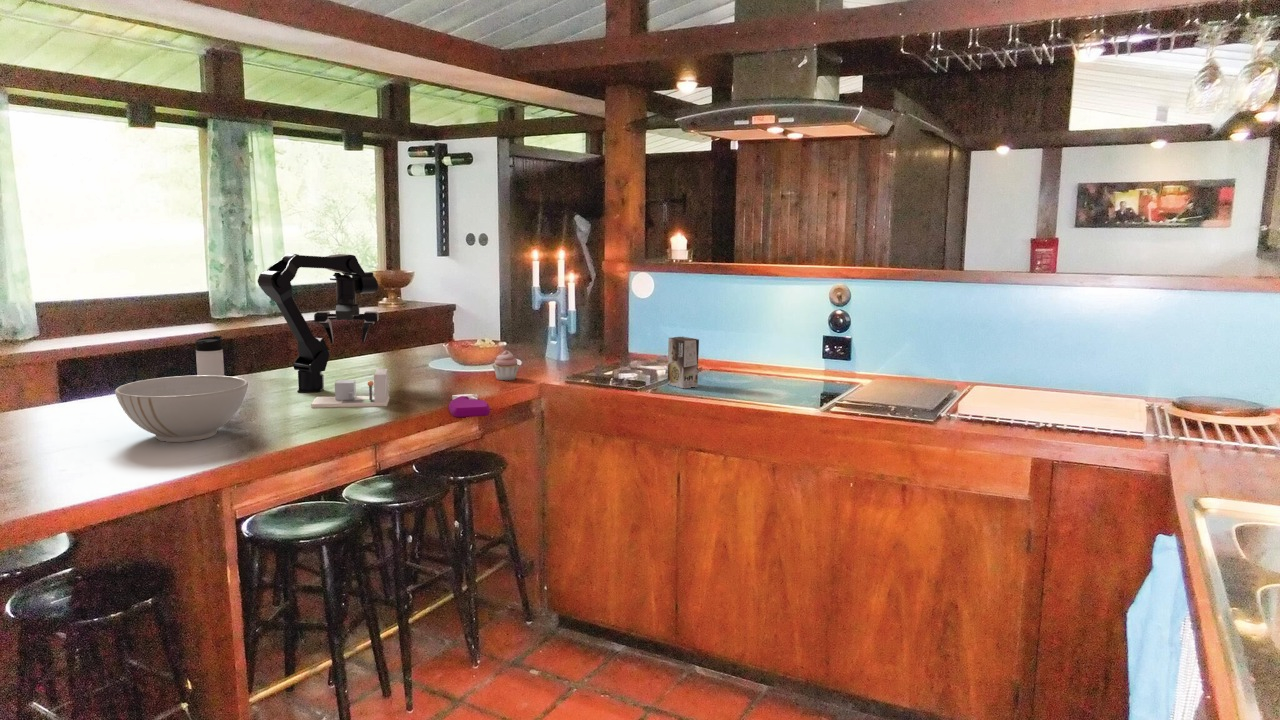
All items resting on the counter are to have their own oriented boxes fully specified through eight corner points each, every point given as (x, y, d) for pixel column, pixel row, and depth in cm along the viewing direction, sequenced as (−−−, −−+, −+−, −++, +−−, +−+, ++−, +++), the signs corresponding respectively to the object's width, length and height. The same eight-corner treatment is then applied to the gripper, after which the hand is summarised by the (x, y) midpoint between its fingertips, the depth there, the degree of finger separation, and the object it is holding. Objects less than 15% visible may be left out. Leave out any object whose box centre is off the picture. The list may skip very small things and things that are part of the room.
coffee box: (698, 387, 264) (700, 339, 261) (682, 389, 260) (684, 340, 258) (681, 382, 271) (683, 336, 269) (666, 384, 267) (667, 336, 265)
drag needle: (367, 400, 223) (367, 381, 223) (368, 398, 226) (367, 380, 225) (373, 400, 224) (373, 381, 223) (374, 398, 226) (373, 380, 225)
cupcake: (487, 380, 266) (487, 351, 264) (498, 376, 275) (498, 347, 273) (514, 382, 264) (514, 352, 262) (524, 377, 273) (524, 349, 271)
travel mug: (232, 410, 213) (228, 336, 210) (212, 415, 207) (207, 339, 204) (214, 408, 215) (210, 335, 212) (194, 412, 209) (189, 337, 206)
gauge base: (311, 407, 219) (309, 375, 217) (316, 400, 228) (315, 369, 227) (386, 405, 224) (386, 374, 222) (389, 398, 233) (388, 368, 232)
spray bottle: (451, 419, 212) (444, 401, 235) (492, 417, 215) (482, 400, 238) (451, 408, 211) (444, 392, 234) (492, 406, 215) (482, 390, 238)
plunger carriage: (333, 402, 221) (333, 385, 220) (337, 396, 229) (337, 380, 228) (352, 402, 222) (352, 385, 221) (355, 396, 230) (355, 379, 229)
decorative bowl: (107, 455, 169) (103, 399, 167) (130, 426, 193) (126, 378, 192) (247, 445, 180) (244, 392, 178) (252, 419, 204) (250, 373, 202)
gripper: (310, 296, 240) (312, 347, 242) (375, 296, 244) (376, 347, 246) (316, 293, 250) (317, 342, 253) (378, 294, 255) (379, 342, 257)
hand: (347, 343), depth 252 cm, fingers open, 9 cm apart
